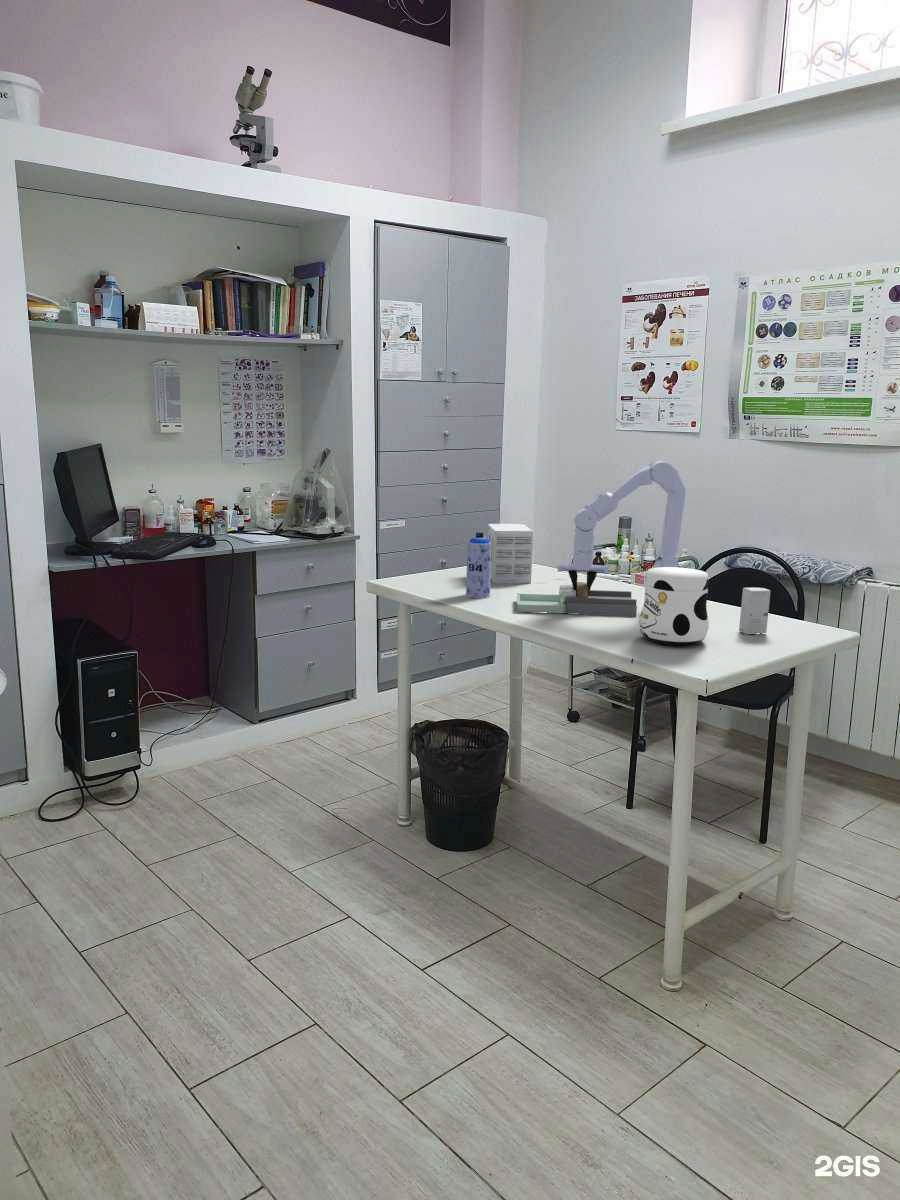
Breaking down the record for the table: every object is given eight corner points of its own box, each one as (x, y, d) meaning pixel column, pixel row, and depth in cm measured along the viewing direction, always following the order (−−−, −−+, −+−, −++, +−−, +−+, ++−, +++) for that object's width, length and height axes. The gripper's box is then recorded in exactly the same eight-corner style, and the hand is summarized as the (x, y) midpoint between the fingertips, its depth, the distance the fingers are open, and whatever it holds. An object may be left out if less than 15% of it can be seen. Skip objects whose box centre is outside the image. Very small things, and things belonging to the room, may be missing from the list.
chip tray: (562, 602, 278) (563, 594, 277) (565, 614, 262) (566, 606, 262) (516, 600, 279) (517, 593, 278) (517, 612, 263) (517, 604, 262)
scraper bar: (584, 595, 273) (585, 582, 272) (587, 601, 264) (588, 588, 264) (574, 595, 273) (575, 582, 273) (576, 601, 265) (577, 587, 264)
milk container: (625, 639, 235) (629, 571, 231) (661, 629, 247) (666, 563, 243) (683, 653, 223) (689, 581, 219) (719, 641, 235) (725, 573, 231)
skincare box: (746, 635, 242) (750, 590, 239) (737, 631, 246) (741, 587, 244) (767, 634, 243) (771, 590, 241) (758, 630, 248) (762, 586, 245)
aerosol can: (461, 597, 283) (463, 533, 278) (470, 592, 290) (472, 530, 286) (485, 599, 280) (487, 535, 276) (493, 594, 287) (495, 531, 283)
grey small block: (574, 594, 274) (573, 584, 273) (573, 597, 270) (572, 587, 269) (561, 595, 274) (560, 585, 274) (560, 598, 270) (559, 588, 270)
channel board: (629, 605, 276) (630, 590, 275) (636, 616, 261) (637, 600, 261) (563, 602, 277) (564, 588, 276) (566, 613, 263) (567, 598, 262)
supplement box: (485, 574, 322) (487, 523, 318) (522, 574, 323) (524, 523, 319) (493, 583, 305) (494, 530, 301) (532, 583, 306) (534, 530, 303)
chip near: (572, 598, 269) (572, 588, 268) (576, 600, 265) (575, 590, 264) (559, 599, 268) (558, 589, 267) (562, 602, 264) (562, 592, 264)
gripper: (606, 549, 270) (604, 594, 272) (557, 547, 270) (555, 592, 273) (609, 553, 263) (606, 599, 265) (559, 551, 263) (556, 597, 266)
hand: (580, 596), depth 269 cm, fingers closed on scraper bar, 3 cm apart
